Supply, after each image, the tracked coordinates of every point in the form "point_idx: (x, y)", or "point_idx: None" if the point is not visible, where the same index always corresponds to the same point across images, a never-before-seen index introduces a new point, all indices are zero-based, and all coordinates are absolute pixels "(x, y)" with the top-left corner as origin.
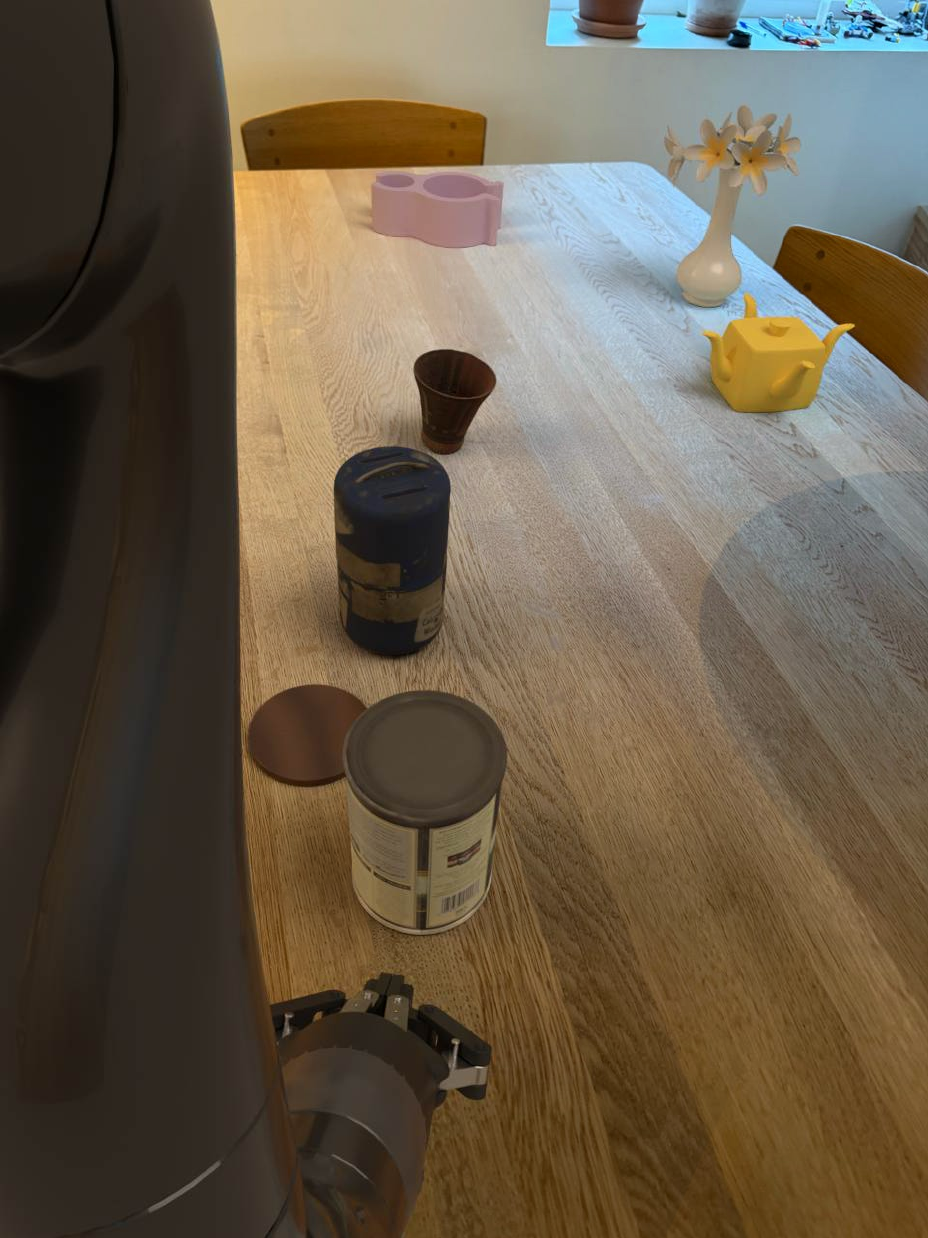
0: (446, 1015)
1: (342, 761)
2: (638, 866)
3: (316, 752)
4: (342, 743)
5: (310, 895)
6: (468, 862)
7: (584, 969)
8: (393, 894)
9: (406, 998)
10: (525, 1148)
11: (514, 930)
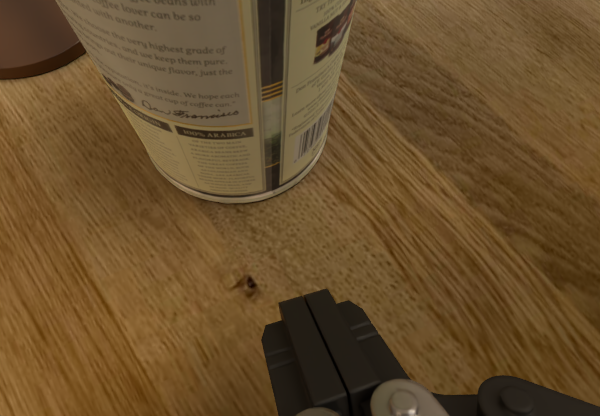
0: (590, 410)
1: None
2: (460, 40)
3: (34, 27)
4: None
5: (103, 203)
6: (338, 49)
7: (470, 160)
8: (224, 154)
9: (415, 385)
10: None
11: (376, 148)
